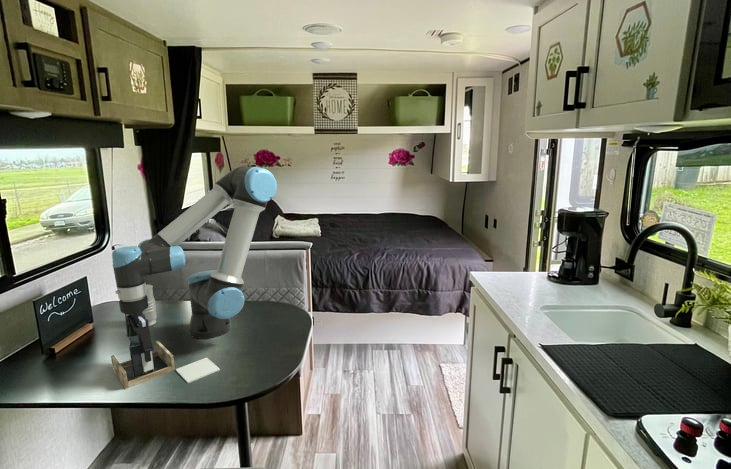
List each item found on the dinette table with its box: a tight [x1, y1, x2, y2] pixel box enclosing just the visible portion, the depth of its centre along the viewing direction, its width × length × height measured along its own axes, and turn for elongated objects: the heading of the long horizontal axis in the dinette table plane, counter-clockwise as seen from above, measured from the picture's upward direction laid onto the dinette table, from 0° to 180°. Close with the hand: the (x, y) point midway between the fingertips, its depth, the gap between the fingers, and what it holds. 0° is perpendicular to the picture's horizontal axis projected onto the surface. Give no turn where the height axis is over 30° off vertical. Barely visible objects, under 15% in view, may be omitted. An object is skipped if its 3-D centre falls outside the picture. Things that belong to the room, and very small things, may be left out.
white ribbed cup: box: [142, 284, 158, 327], centre depth 159 cm, size 7×7×15 cm
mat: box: [175, 357, 221, 384], centre depth 126 cm, size 10×10×1 cm
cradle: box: [110, 340, 176, 390], centre depth 126 cm, size 14×14×5 cm
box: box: [129, 336, 155, 379], centre depth 125 cm, size 8×6×11 cm
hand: (143, 364), depth 126 cm, fingers closed on box, 9 cm apart
